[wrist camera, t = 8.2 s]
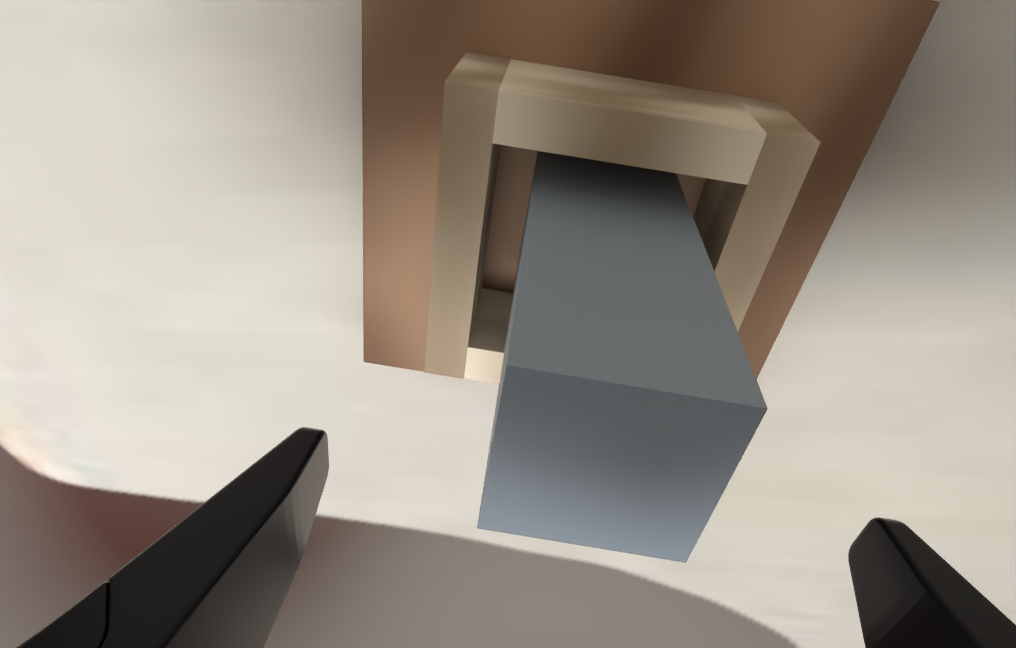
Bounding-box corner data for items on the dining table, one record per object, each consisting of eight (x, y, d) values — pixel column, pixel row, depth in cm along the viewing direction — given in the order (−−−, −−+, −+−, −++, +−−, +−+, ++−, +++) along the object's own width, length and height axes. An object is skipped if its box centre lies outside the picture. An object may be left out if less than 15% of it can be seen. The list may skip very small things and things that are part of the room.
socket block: (916, -4, 15) (1024, 24, 12) (729, 399, 23) (758, 492, 20) (374, -93, 15) (312, -93, 12) (372, 342, 23) (334, 424, 20)
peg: (675, 171, 17) (768, 408, 9) (638, 288, 20) (685, 562, 11) (538, 148, 17) (506, 365, 9) (517, 268, 20) (477, 528, 11)
